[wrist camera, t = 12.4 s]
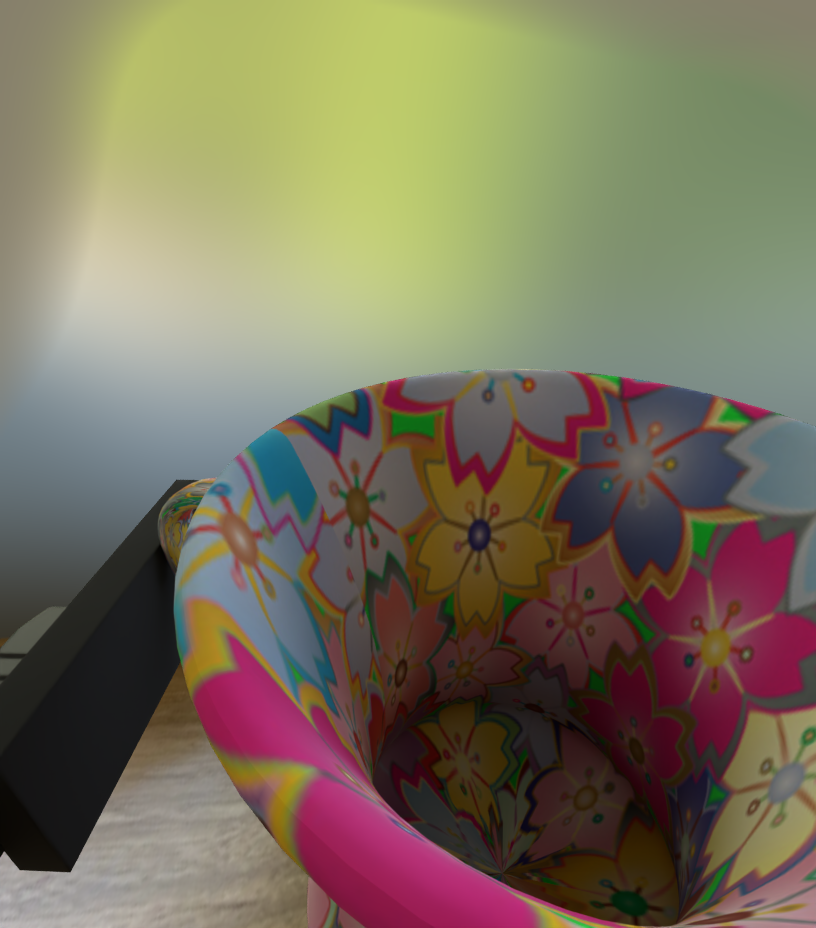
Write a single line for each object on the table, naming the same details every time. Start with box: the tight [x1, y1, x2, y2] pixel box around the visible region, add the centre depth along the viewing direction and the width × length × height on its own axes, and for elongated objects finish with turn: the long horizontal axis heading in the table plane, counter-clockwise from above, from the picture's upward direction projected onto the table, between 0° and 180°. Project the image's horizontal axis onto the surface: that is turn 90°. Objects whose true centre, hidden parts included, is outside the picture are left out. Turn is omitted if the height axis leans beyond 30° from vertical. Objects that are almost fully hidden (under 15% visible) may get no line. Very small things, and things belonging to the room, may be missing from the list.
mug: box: [158, 369, 816, 928], centre depth 9 cm, size 12×9×11 cm
